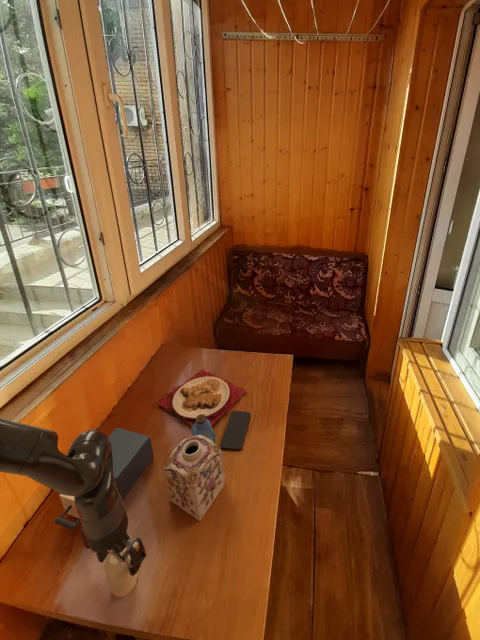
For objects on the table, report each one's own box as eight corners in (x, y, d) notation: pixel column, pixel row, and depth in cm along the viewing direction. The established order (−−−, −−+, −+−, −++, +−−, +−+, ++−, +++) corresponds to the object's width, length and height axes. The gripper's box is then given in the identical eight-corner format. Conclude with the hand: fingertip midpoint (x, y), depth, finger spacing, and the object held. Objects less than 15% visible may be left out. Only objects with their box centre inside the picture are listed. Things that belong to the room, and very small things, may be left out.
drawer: (85, 545, 78) (79, 526, 76) (51, 530, 81) (43, 512, 78) (133, 479, 93) (129, 462, 91) (103, 469, 96) (97, 452, 94)
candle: (143, 576, 73) (135, 550, 70) (120, 604, 69) (111, 578, 65) (129, 560, 76) (121, 535, 72) (106, 586, 71) (97, 560, 68)
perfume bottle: (193, 441, 106) (189, 414, 102) (211, 434, 109) (208, 407, 104) (197, 456, 101) (193, 429, 97) (216, 448, 103) (212, 421, 99)
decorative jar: (197, 465, 98) (191, 422, 92) (227, 483, 93) (222, 438, 87) (168, 502, 88) (158, 456, 82) (199, 523, 83) (191, 477, 77)
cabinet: (122, 500, 89) (116, 478, 85) (87, 488, 92) (80, 466, 89) (154, 457, 101) (149, 436, 98) (122, 447, 104) (116, 427, 101)
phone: (219, 447, 103) (231, 410, 117) (219, 449, 103) (231, 412, 117) (241, 449, 102) (250, 412, 116) (241, 451, 102) (251, 413, 116)
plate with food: (204, 436, 108) (203, 429, 107) (156, 404, 120) (155, 398, 119) (247, 393, 127) (247, 386, 126) (202, 369, 139) (201, 363, 138)
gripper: (60, 527, 63) (80, 573, 68) (118, 550, 59) (134, 597, 65) (92, 489, 69) (107, 534, 75) (145, 508, 66) (157, 554, 71)
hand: (119, 563), depth 70 cm, fingers open, 8 cm apart
